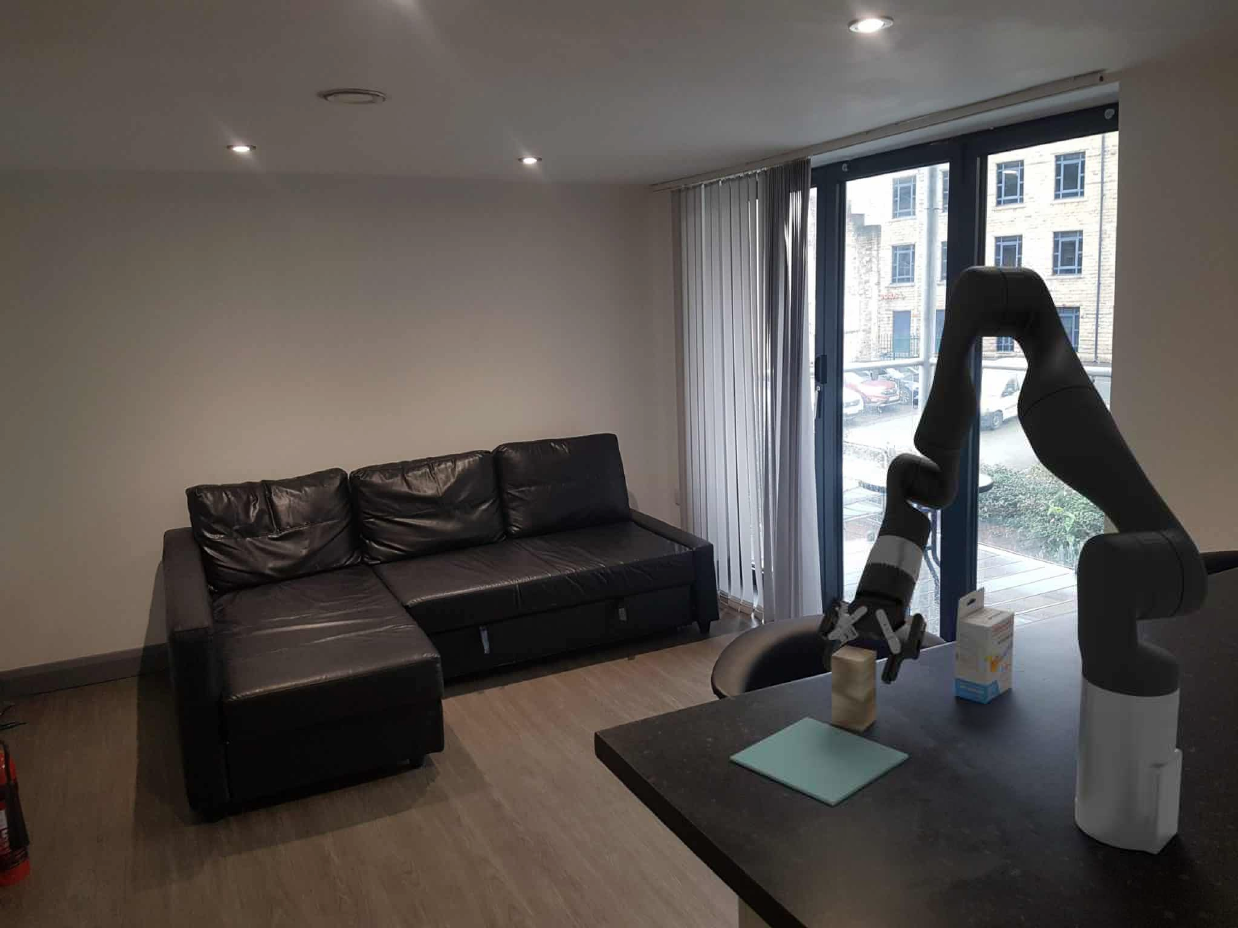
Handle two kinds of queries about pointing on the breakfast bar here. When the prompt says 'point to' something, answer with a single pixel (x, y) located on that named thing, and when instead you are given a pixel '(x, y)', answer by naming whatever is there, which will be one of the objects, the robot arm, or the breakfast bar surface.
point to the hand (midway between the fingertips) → (856, 674)
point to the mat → (820, 760)
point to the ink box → (983, 649)
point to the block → (854, 687)
